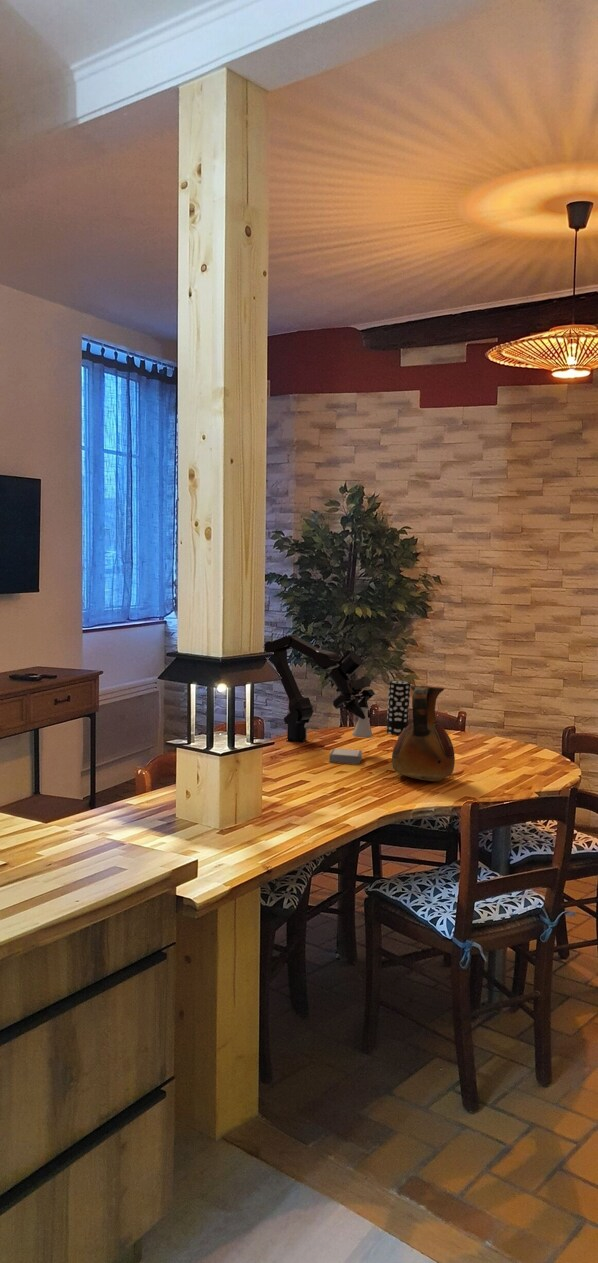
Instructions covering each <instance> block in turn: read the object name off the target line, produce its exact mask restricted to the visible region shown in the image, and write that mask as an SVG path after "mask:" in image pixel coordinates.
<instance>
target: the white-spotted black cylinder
mask: <svg viewBox="0 0 598 1263" xmlns="http://www.w3.org/2000/svg"><path fill="white" fill-rule="evenodd" d="M388 682H389V683H388V696H387V698H388V699H387V715H386V730H385V731H386V733H387V734H391V735H395V734H396V736H397V735H398V736H399V735H400V734H401V732H402V731H403V730H404V729H405V728H406V727H407V726H408V725H409V718H410V716H409V713H410V702H411V701H410V699H411V687H410V685H412V684H411V682H410V681H405V680H390V681H388Z"/></svg>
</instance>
